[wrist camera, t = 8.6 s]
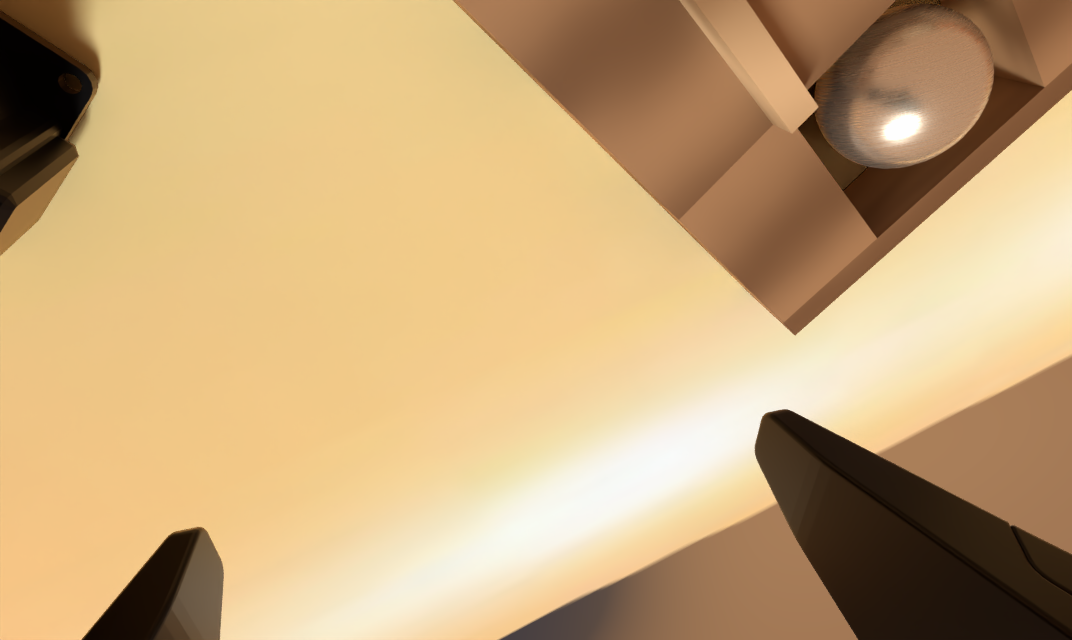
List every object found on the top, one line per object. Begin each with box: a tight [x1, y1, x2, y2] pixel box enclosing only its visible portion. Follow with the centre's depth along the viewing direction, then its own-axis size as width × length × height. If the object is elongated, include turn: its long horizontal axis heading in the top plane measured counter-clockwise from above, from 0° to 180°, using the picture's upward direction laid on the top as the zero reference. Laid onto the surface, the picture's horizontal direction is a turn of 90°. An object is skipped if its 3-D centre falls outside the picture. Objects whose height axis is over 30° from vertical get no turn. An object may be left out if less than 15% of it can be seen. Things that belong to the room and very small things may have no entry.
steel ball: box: [814, 4, 994, 169], centre depth 20 cm, size 5×5×5 cm
